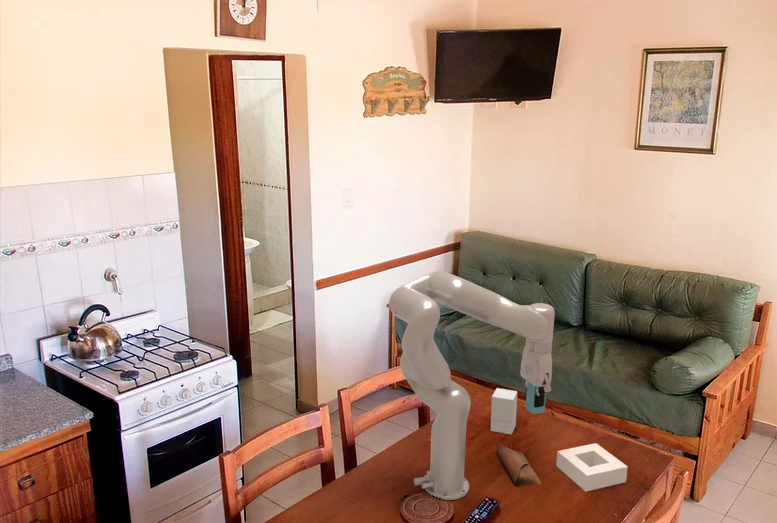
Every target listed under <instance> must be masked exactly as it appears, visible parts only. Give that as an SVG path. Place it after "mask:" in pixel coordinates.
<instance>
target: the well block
mask: <svg viewBox="0 0 777 523" xmlns="http://www.w3.org/2000/svg"><path fill="white" fill-rule="evenodd" d="M556 452H557V454H556V467H557V468H558V469H559V470H560V471H561V472H563V474H565V475H566V476H567V478H569V479H570V480H571V481H573V482H574V483H575V484H576V485H577V486H578V487H579V488H581V489H582V490H583V491H584V492H590V491H594V490H599V489H602V488H603V489H604V488H606V487H611V486H616V485H620V484H625V483H627V478H628V477H627V476H628V468H629V466H627V465H626V464H625V463H623V462H622V461H621V460H619V459H618V458H617V457H616V456H614V455H613V454H612V453H610V452H609V451H607V450H606V449H604V447H602V446H600V444H598V443H597V442H596V443H589V444H587V445H586V444H585V445H580V446H576V447H571V448H567V449H566V448H564V449H562V450H557V451H556Z"/></svg>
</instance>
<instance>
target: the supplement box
mask: <svg viewBox="0 0 777 523" xmlns="http://www.w3.org/2000/svg"><path fill="white" fill-rule="evenodd" d="M517 405H518V391H517V390H512V389H505V388H499V387H496V389H495V390H494V392H493V394H492V395H491V407H490V409H491V410H490V411H491V412H490V413H491V414H490V432H494V433H500V434H506V435H512V436H513V432H514V430H515V427H516V426H517V424H516V423H517Z"/></svg>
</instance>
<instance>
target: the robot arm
mask: <svg viewBox="0 0 777 523" xmlns="http://www.w3.org/2000/svg"><path fill="white" fill-rule="evenodd" d="M388 300H389V301H388V306H389V310H390V312H391V313H392V315H394V316H395V317H396V318H398V319H400V320H401V321H403V322H405V323H407V326H406V328H405V330H404V333H403V335H402V339H401V342H400V343H401V345H400V346H401V350H402V354H401V356H400V360H399V365H400V366H399V367H400V370H401V372H402V374H403V376H404V378H405V379H406V381H407V383H408V384H409V385H410V388H411V389H412V391H413V392H414V394H415V395H416V396H417V398H418V399H419V400H420V401H421V402H422V403H424V404H425V405H426V406H427V407H429V408H431V410H432V411H434V412H435V414H436V416H435V417H436V418H435V420H434V421H433V423H432V425H431V429H430V430H431V432H430V433H431V434H430V436H431V437H430V461H429V462H430V466H429V467H430V468H429V470H427V471H426V474H425V475H423V477H415V478H413V485H414V486H415V487H416V486H420V485H421V488H422V489H423V490H424V489H425V491H426V492H427V494H429V495H430V494H431V495H430V496H432V495H433V496H435V497H434V498H436V497H438V498H437V499H439V498H441V499H440V500H443V499H444V500H445V501H452V500H458V499H462V498H464V497H465V496H466V495H468V493H469V490H470V483H469V481H468V480H467V478H465V462H466V460H465V459H466V441H467V440H466V439H467V438H466V436H467V435H466V434H467V422H468V417H469V413H470V409H471V401H472V400H471V397H470V395H469V392H468V391H467V390H466V389H465V388H464V387H463V386H462V385H460V384H458V382H456V381H454V380H453V379H451V369H450V367H449V365H448V363H447V361H446V360H445V358H444V356H443V354H442V353H441V351H440V350H439V348H438V345H437V344H436V342H435V340H434V336H435V332H436V329H437V326H438V325H439V321H440V319H441V318H440V317H441V310H440V307H439V304H442V305H443V306H445V307H447V308H450V309H451V310H454V311H457V312H459V313H461V314H464V315H465V316H466V315H467V316H470V317H471V318H473V319H476V320H479V321H481V322H483V323H486V324H489V325H492V326H494V327H498V328H501V329H504V330H506V331H509V332H511V333H513V334H516V335H519V336H521V337H524V338H525V345H524V347H523V351H522V356H521V364H520V369H519V372H520V373H519V375H520V377H521V378H522V379H523V380H524V387H525V394H524V397H525V398H524V400H525V401H526V395H527V381H528V382H529V383H531V384H532V385H534V386H535V387H536V394H535V397H534V407H535V408H536V407H542V406H544V399H545V400H546V398H545V395H547V393H549V392H551V391H552V387H551V384H552V383H551V382H552V377H553V376H552V375H553V358H552V352H553V351H552V350H553V349H552V348H553V339H554V338H553V337H554V327H555V326H554V325H555V316H556V314H555V313H556V312H555V308H554V307H553V306H552V305H550V304H548V303H545V302H544V303H543V302H540V303H539V302H538V303H537V302H536V303H532V304H531V305H530V304H529V305H527V304H524V305H522V304H518V303H516V302H514V301H512V300H510V299H508V298H506V297H504V296H503V295H500V294H498V293H497V292H494V291H493V290H490V289H487V288H485V287H483V286H480V285H478V284H476V283H474V282H471V281H470V280H467V279H465V278H462V277H460V276H458V275H455V274H452V273H449V272H447V271H445V270H437V271H433V272H429V273H428V274H424V275H423V276H420V277H418V278H415V279H414V280H412V281H409V282H408V283H406V284H403V285H401V286H399V287H398V288H396V289H395V290H394V291H393V292H392V294H391V295H390V298H389V299H388ZM540 387H542V389H541V390H540ZM433 496H432V497H433Z"/></svg>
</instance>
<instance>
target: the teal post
mask: <svg viewBox="0 0 777 523" xmlns="http://www.w3.org/2000/svg"><path fill="white" fill-rule="evenodd" d="M541 389H542V387H540V390H541ZM535 394H536V387H535V386H534V385H532V384H531V383H529V382H528V381H527V395H526V400H525V410H527V411H528V412H530V414H532V415H535V414H541V413H545V410H546V397H547V396H546V395H547V394H546V395H545V399H544V406H542V407H536V408H535V407H534V397H535Z"/></svg>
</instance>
